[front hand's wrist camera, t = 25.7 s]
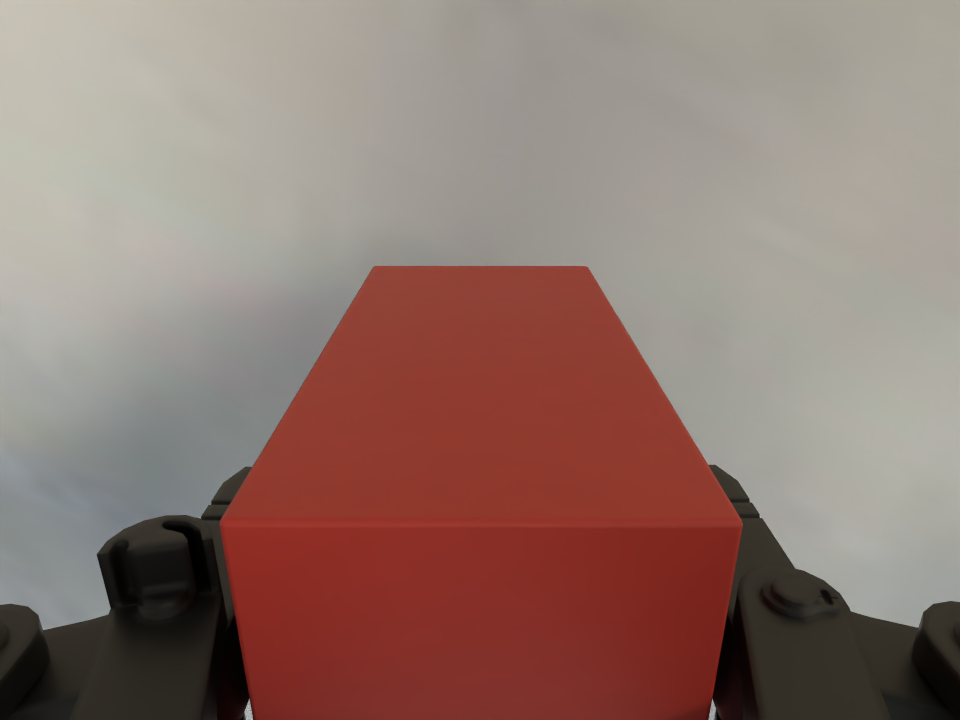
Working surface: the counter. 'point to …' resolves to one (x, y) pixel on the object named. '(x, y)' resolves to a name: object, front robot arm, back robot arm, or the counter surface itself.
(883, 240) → the counter surface
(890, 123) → the counter surface
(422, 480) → the block
